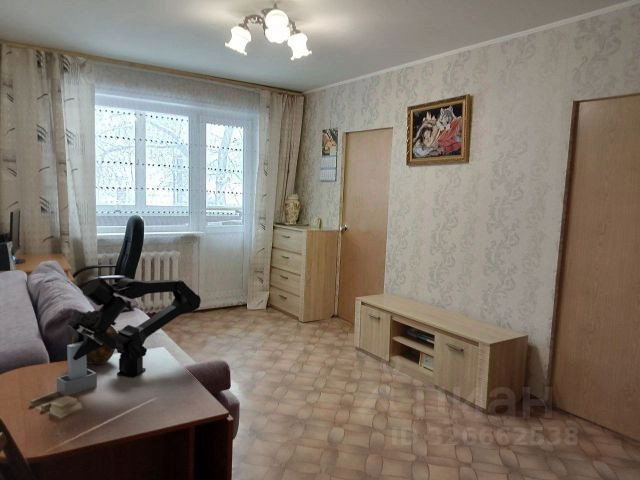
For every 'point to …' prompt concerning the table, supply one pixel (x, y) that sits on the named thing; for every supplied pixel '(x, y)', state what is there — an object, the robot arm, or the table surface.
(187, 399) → the table surface
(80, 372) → the panel
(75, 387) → the holder
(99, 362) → the rock
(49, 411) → the rack
